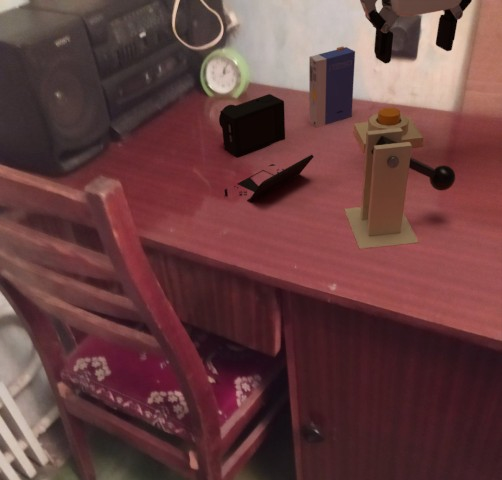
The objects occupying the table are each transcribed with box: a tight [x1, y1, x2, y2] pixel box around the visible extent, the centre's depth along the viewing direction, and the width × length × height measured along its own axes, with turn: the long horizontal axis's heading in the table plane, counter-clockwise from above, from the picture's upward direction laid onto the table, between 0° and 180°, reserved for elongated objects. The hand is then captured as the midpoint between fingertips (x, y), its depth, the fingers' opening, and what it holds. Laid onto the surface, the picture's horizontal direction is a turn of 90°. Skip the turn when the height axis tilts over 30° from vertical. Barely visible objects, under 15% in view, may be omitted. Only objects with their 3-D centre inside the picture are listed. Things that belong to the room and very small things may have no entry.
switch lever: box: [371, 136, 456, 191], centre depth 75 cm, size 12×3×3 cm
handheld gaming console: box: [224, 154, 314, 203], centre depth 90 cm, size 12×7×10 cm
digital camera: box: [218, 93, 286, 158], centre depth 101 cm, size 10×5×7 cm, turn 124°
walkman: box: [308, 45, 356, 128], centre depth 104 cm, size 8×3×12 cm, turn 117°
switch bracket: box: [343, 128, 420, 250], centre depth 77 cm, size 8×10×14 cm
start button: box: [378, 107, 401, 126], centre depth 99 cm, size 4×4×2 cm
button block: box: [353, 112, 424, 154], centre depth 100 cm, size 10×8×4 cm
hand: (413, 54), depth 83 cm, fingers open, 9 cm apart
